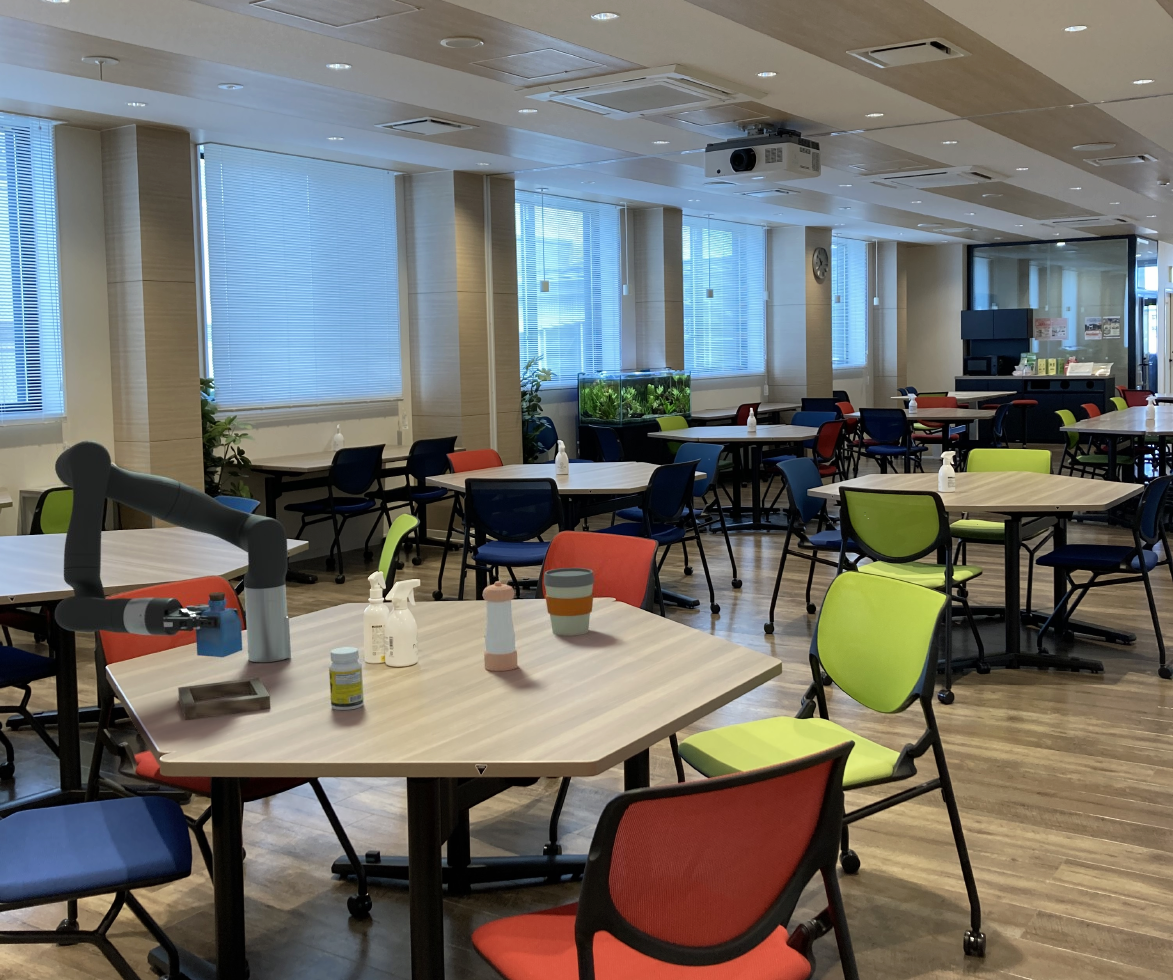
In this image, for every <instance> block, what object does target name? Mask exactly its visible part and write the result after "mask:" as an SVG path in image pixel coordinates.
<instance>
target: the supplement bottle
mask: <svg viewBox="0 0 1173 980" xmlns="http://www.w3.org/2000/svg"><path fill="white" fill-rule="evenodd" d="M359 653H360V652H359V649H358V648H356V647H353V646H352V647H351V646H350V647H349V646H348V647H347V646H345V647H337V648H334V649H332V650H330V661H331V662H332V663H330V664H329V666H328V671H329V672H328V673H329V674H328V675H329V691H330V704H331V708H332V709H333V710H336V711H349V710H355V709H359V708H362V706H363V705H364V687H363V686H364V684H363V666H362V662H361V661H359V659H360V658H359V657H360V655H359Z"/></svg>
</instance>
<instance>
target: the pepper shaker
mask: <svg viewBox="0 0 1173 980" xmlns="http://www.w3.org/2000/svg"><path fill="white" fill-rule="evenodd" d="M482 597H483V600H485V601H486V602H485V603H486V627H485V635H484V643H485V645H484V646H485V650H484V654H483V656H484V658H483V659H484V660H483V661H484V669H485V670H487V671H491V672H503V671H505V672H506V671H512V670H515V669H516V668H518V666H519V665H518V650H517V649H516V633H515V627H514V624H513V623H514V622H513V616H512V615H513V614H512V613H513V611H512V600H513V599H514V598H515V590H514V588H513V587H512V586H511V585H509V584H505V583H504V584H503V583H502V582H501V581H500V580H499V581H498V580H497V581H495V582H494V584H490V585H488V586H486V587H485V588H484V589H483V591H482Z"/></svg>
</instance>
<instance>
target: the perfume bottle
mask: <svg viewBox="0 0 1173 980" xmlns="http://www.w3.org/2000/svg"><path fill="white" fill-rule="evenodd" d="M225 596H226V592H225V591H224V592H222V591H216V592H211V593H208V597H209V599H208V600H207V601H208V602H207V603H208V604H207V605H209V606H210V610H207V611H203V613H202V614H201V616H218V617H219V618H220V627H218V628H200V629H195V638H196V639H195V640H196V641H195V642H196V656H201V657H214V658H217V657H218V658H225V657H228V656H230V655H234V654H236V653H238V652H241V651H243V637H242V636H243V635H242V634H243V633H242V619H241V618H240V616H239V617H238V615H237V614H236V613H235V611H234V610H233V609H234V608H229V607H228V608H227V607H226V605H227V598H226V597H225ZM201 616H200V617H201Z"/></svg>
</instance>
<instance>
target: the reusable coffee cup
mask: <svg viewBox="0 0 1173 980" xmlns="http://www.w3.org/2000/svg"><path fill="white" fill-rule="evenodd" d="M543 575H544V577H543V585H544V586H545V591H546V592H545V593H546V594H545V595H544V597H545V602H546V607H547V608H546V609H547V613H548V615H549V618H550V624H551V629H552V631H551V632H552V633H553V634H555V635H559V636H580V635H583V634H587V633H588V632H589V628H590V627H589V626H590V617H591V613H592V611H593V602H594V592H593V586H594V584H595V578H594V571H593V570H592V569H590V568H582V567H562V568H561V567H560V568H556V569H549V570H547V571H545V572H544V574H543Z"/></svg>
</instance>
